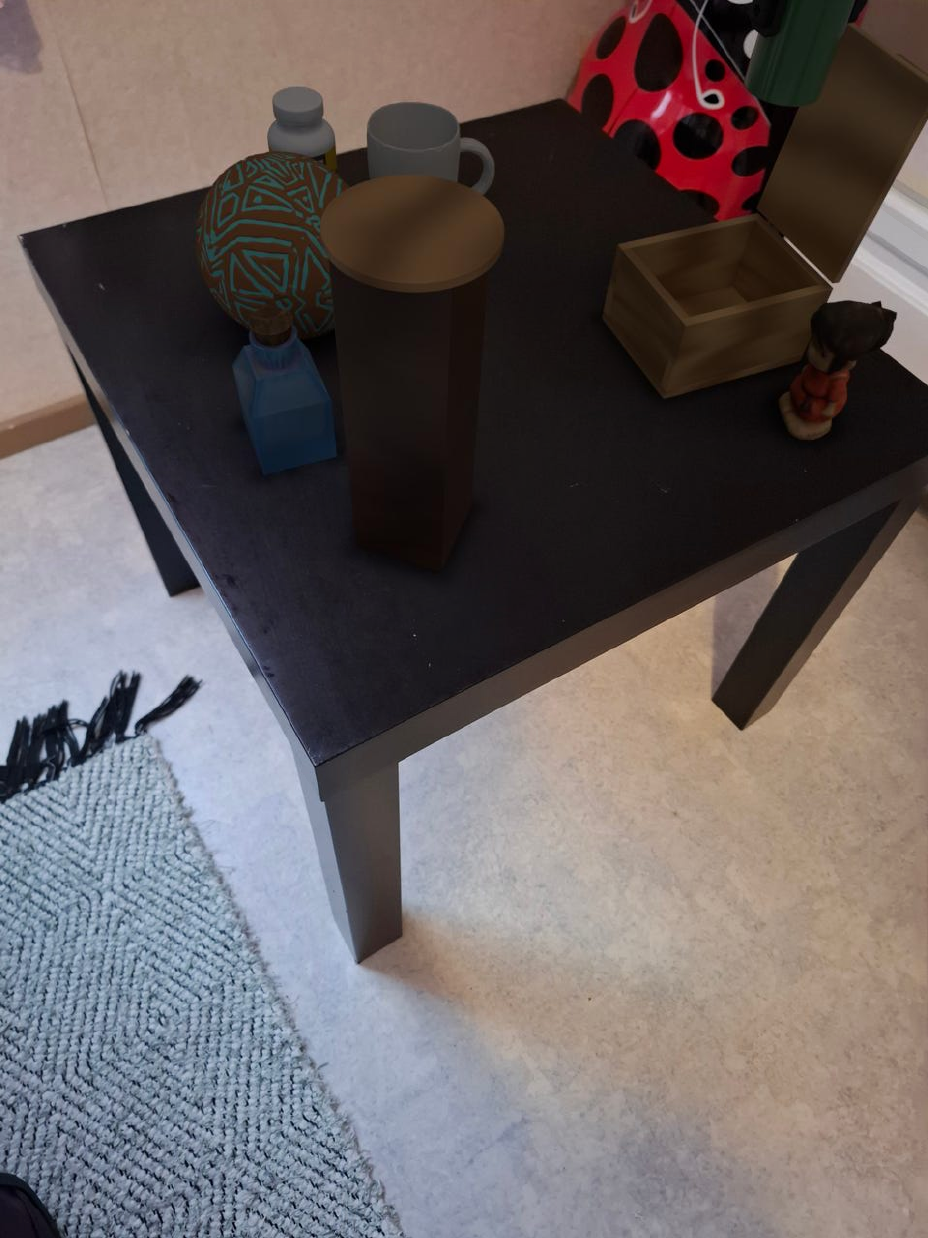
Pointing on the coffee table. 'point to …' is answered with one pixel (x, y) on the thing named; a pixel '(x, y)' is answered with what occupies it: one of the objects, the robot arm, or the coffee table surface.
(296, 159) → the decorative sphere
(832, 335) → the figurine
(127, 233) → the coffee table surface
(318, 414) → the perfume bottle
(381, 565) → the coffee table surface
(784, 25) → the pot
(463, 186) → the tall pedestal column
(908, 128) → the lid
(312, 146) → the pill bottle
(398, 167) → the mug
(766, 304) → the chest
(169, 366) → the coffee table surface
